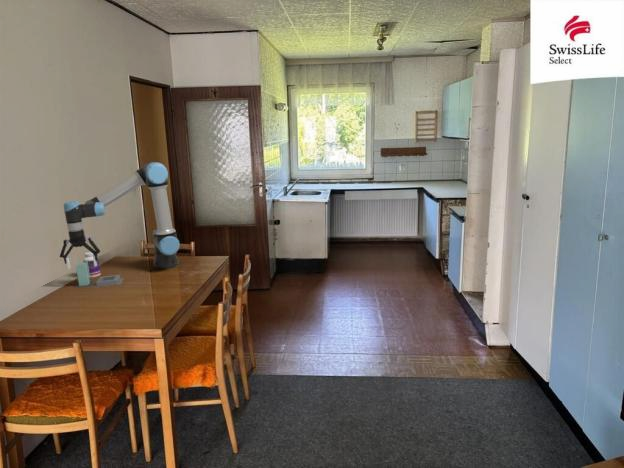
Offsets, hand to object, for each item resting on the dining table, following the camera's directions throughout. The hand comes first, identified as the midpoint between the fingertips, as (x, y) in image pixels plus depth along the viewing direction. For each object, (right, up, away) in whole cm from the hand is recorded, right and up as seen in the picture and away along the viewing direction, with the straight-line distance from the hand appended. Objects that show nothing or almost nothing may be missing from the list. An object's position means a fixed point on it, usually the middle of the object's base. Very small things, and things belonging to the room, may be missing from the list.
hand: (82, 267), depth 259 cm
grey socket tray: (+13, -9, +3) cm, 16 cm away
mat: (0, -10, +2) cm, 10 cm away
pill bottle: (-3, -7, +19) cm, 20 cm away
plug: (0, -10, +2) cm, 10 cm away
